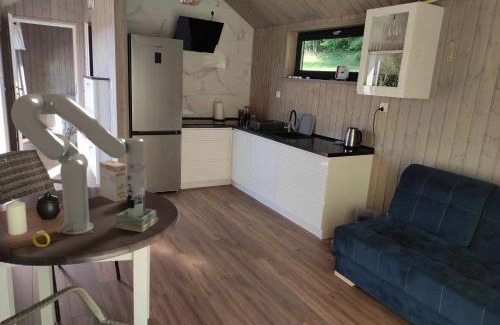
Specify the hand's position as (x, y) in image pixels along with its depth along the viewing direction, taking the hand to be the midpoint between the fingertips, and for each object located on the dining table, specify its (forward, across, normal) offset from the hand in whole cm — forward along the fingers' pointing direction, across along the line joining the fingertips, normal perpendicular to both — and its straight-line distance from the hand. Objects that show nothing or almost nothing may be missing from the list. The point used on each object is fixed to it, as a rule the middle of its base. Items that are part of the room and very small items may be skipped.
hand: (136, 204), depth 163 cm
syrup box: (+7, 0, 0) cm, 7 cm away
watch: (+10, -32, +21) cm, 39 cm away
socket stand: (+9, 0, 0) cm, 9 cm away
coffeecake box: (+10, +28, +32) cm, 44 cm away
